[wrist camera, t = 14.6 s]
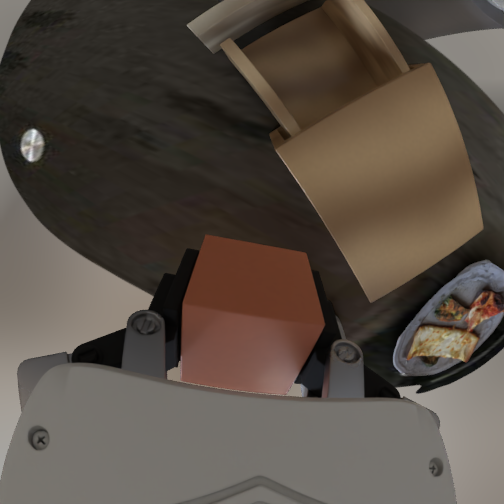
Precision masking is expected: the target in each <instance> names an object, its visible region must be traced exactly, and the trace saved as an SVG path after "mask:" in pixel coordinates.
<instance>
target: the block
mask: <svg viewBox="0 0 504 504" xmlns="http://www.w3.org/2000/svg"><path fill="white" fill-rule="evenodd" d="M324 326H325V322H324V318H323V314H322V310H321V306H320V302H319V298H318V294H317V291H316V287H315V283H314V279H313V276H312V272H311V268H310V265H309V261H308V257H307V254H306V253H304V252H299V251H293V250H288V249H283V248H277V247H272V246H266V245H261V244H255V243H250V242H244V241H239V240H233V239H228V238H222V237H217V236H211V235H205V238H204V241H203V244H202V246H201V249H200V252H199V255H198V258H197V261H196V264H195V267H194V270H193V273H192V276H191V279H190V282H189V285H188V288H187V291H186V294H185V297H184V300H183V304H182V326H181V376H180V379H181V381H184V382H190V383H195V384H200V385H207V386H212V387H218V388H225V389H232V390H240V391H248V392H257V393H268V394H280V395H286V394H287V393H288V391H289V389H290V388H291V386H292V384H293V383H294V381H295V379H296V378H297V376H298V374H299V372H300V371H301V369H302V367H303V365H304V364H305V362H306V360H307V358H308V356H309V355H310V353H311V351H312V349H313V347H314V345H315V344H316V342H317V340H318V338H319V336H320V334H321V332H322V330H323V328H324Z"/></svg>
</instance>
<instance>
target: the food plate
mask: <svg viewBox="0 0 504 504" xmlns="http://www.w3.org/2000/svg"><path fill="white" fill-rule="evenodd" d="M490 262H491V261H489V260H483V261H479V262H477V263H474V264H471V265H469V266H468V267H466V268H465V269H464V270H463V271H461V272H460V273H458V275H457V276H456V278H454V279H453V280H452V281H450V282H449V283H447V284H445V286H444V287H442V288H441V289H440V290H439V291H438V293H437V294H435V295H434V296H433V297H432V298H431V300H429V302H428V303H426V305H425V306H424V307H423V308H422V309H421V311H420V312H419V313H418V314H417V315H416V317H415V318H413V320H411V321H412V322H411V323H409V325H408V326H407V327H406V330H405V331H403V333H402V335H401V336H400V337H399V338H398V341H397V343H396V348H395V350H394V355H393V364H394V367H395V368H396V369H397V370H398V371H399V372H401V373H405V374H403V375H407V374H412V375H408V376H424V375H423V374H425V375H427V374H428V375H429V374H431V375H432V374H436V373H438V372H441V371H444V370H445V369H448V368H449V367H452V366H453V365H455V364H457V363H460V362H461V361H464V362H467V361H469V358H470V356H471V355H472V353H473V352H474V351H475V350H476V349H477V348H478V347H479V346H480V345H481V344H482V343H483V342H484V341H485V340H486V339H487V338H488V337H489V336H490V335H491V334H492V333H493V331H494V330H495V328H496V327H497V326H498V324H499V323H500V321H501V320H502V318H503V315H504V271H503V270H502V269H500V268H499V267H498V266H496V265H493V263H492V262H491V263H490Z"/></svg>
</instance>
